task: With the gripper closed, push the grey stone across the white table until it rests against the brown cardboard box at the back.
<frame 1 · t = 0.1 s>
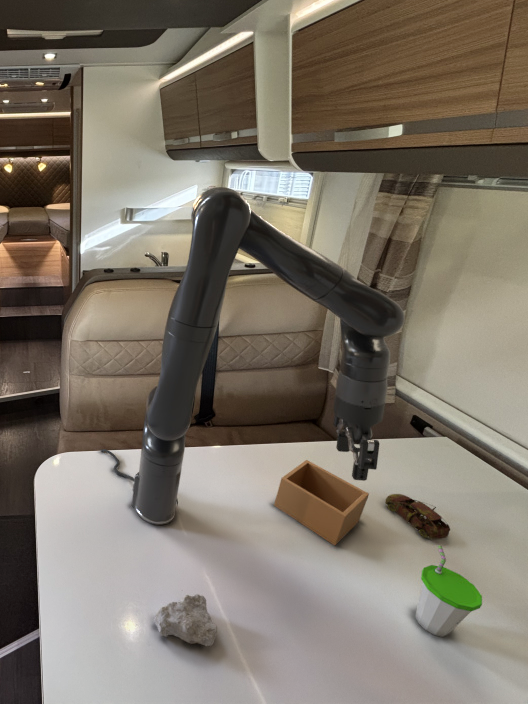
hand: (350, 464, 85), 22 cm above the table, tool pointing down, fingers open, 8 cm apart
cup: (430, 624, 78), on the table
box: (315, 513, 102), on the table
stone: (182, 629, 78), on the table
toy car: (413, 520, 100), on the table
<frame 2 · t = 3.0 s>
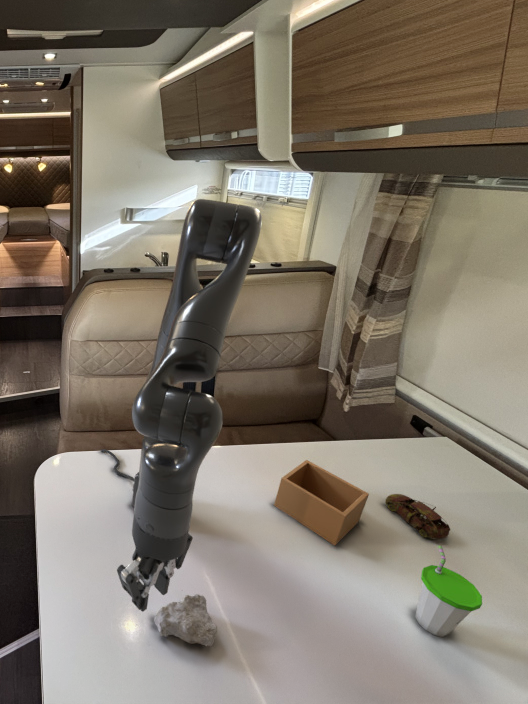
hand: (149, 597, 66), 17 cm above the table, tool pointing down, fingers open, 4 cm apart
nothing on the table moved.
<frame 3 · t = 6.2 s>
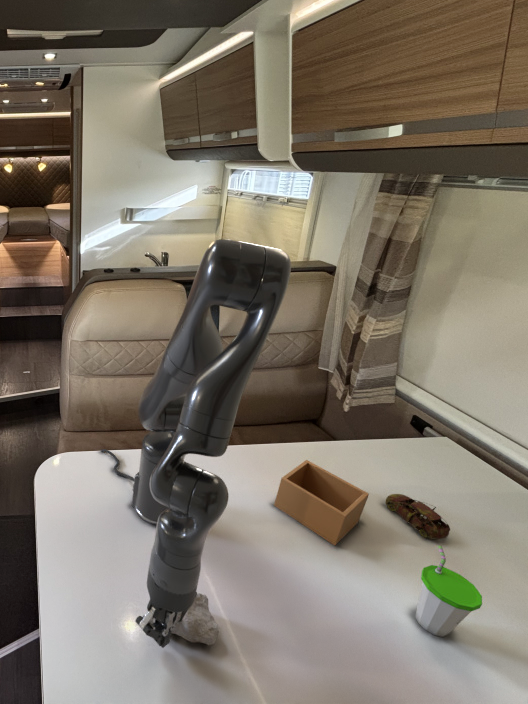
hand: (161, 641, 74), 2 cm above the table, tool pointing down, fingers closed
stone: (184, 628, 78), on the table, touching gripper
everything else where it was.
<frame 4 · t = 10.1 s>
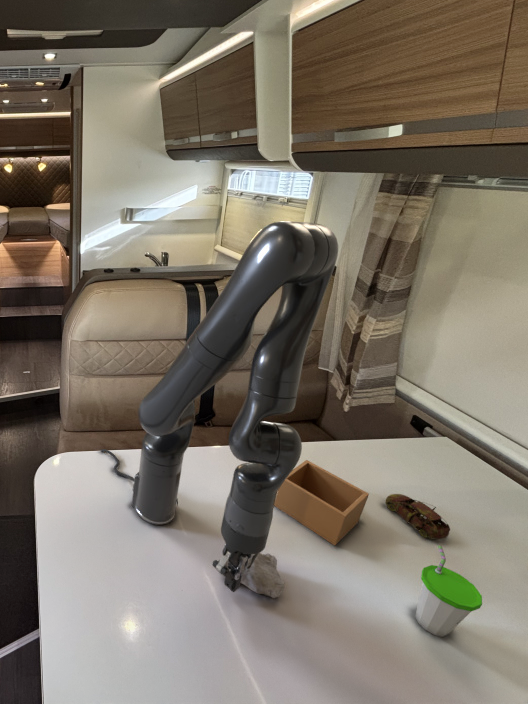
hand: (231, 586, 83), 2 cm above the table, tool pointing down, fingers closed
stone: (251, 581, 86), on the table, touching gripper
everything else where it was.
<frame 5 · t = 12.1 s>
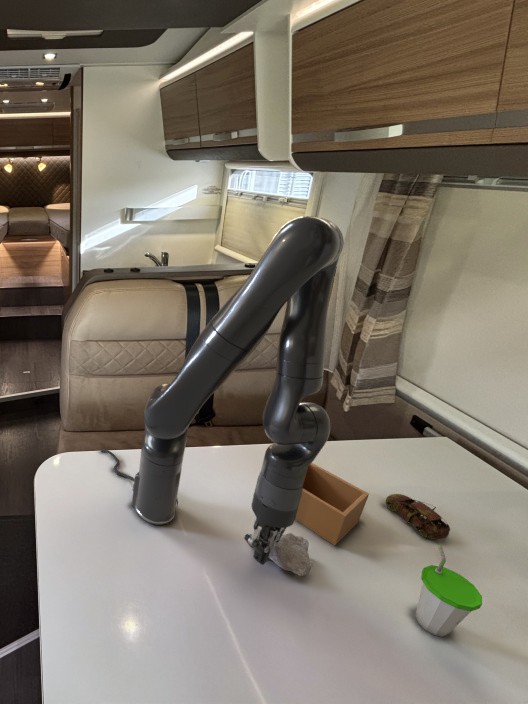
hand: (260, 559, 88), 2 cm above the table, tool pointing down, fingers closed
stone: (280, 559, 91), on the table, touching gripper
everything else where it was.
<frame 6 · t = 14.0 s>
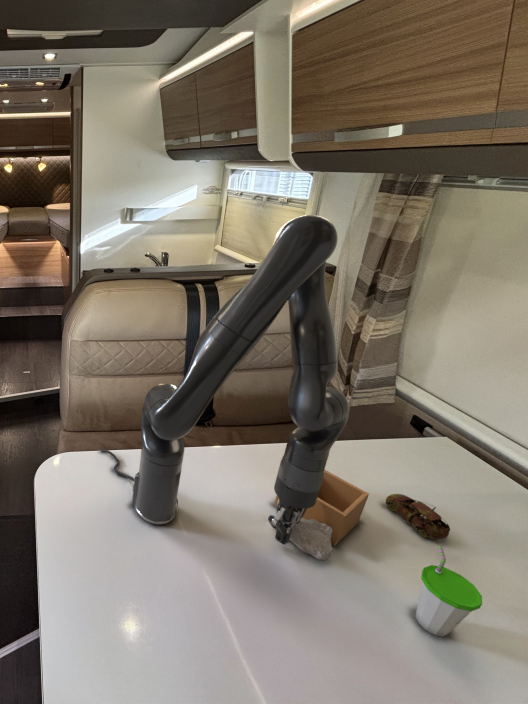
hand: (281, 540, 92), 2 cm above the table, tool pointing down, fingers closed
stone: (302, 543, 94), on the table, touching gripper
everything else where it was.
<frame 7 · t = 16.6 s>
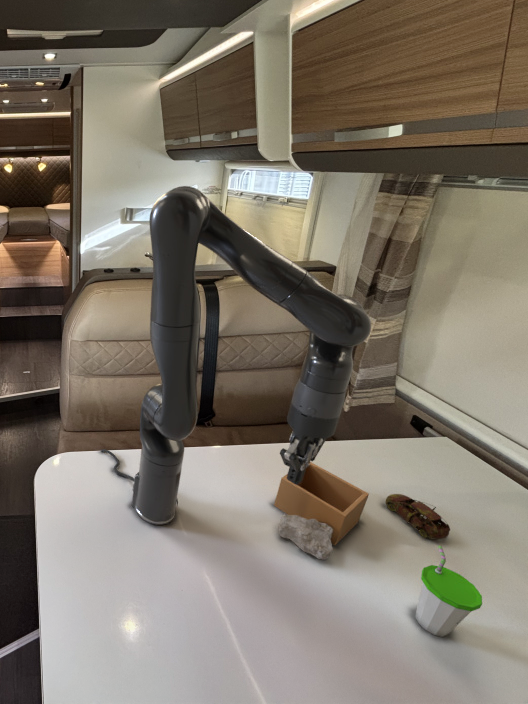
hand: (293, 480, 83), 21 cm above the table, tool pointing down, fingers closed
stone: (302, 543, 94), on the table
everything else where it was.
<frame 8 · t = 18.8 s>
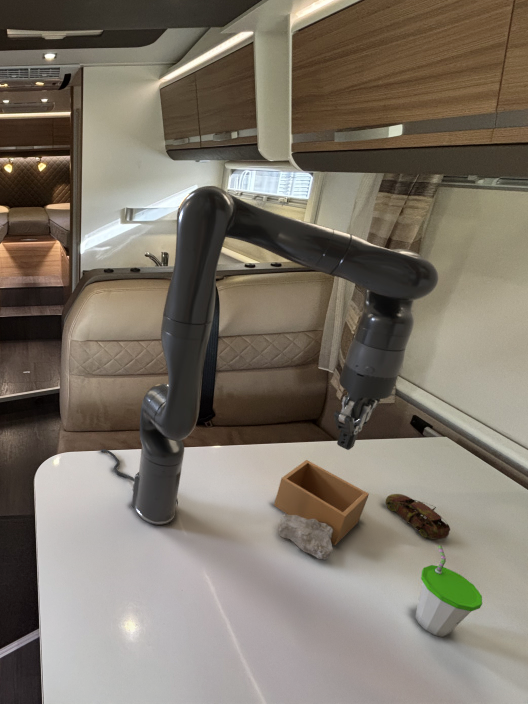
hand: (344, 446, 80), 29 cm above the table, tool pointing down, fingers closed
nothing on the table moved.
at the end: stone 11.1 cm from the box (horizontally); stone moved 37.3 cm from its start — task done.
